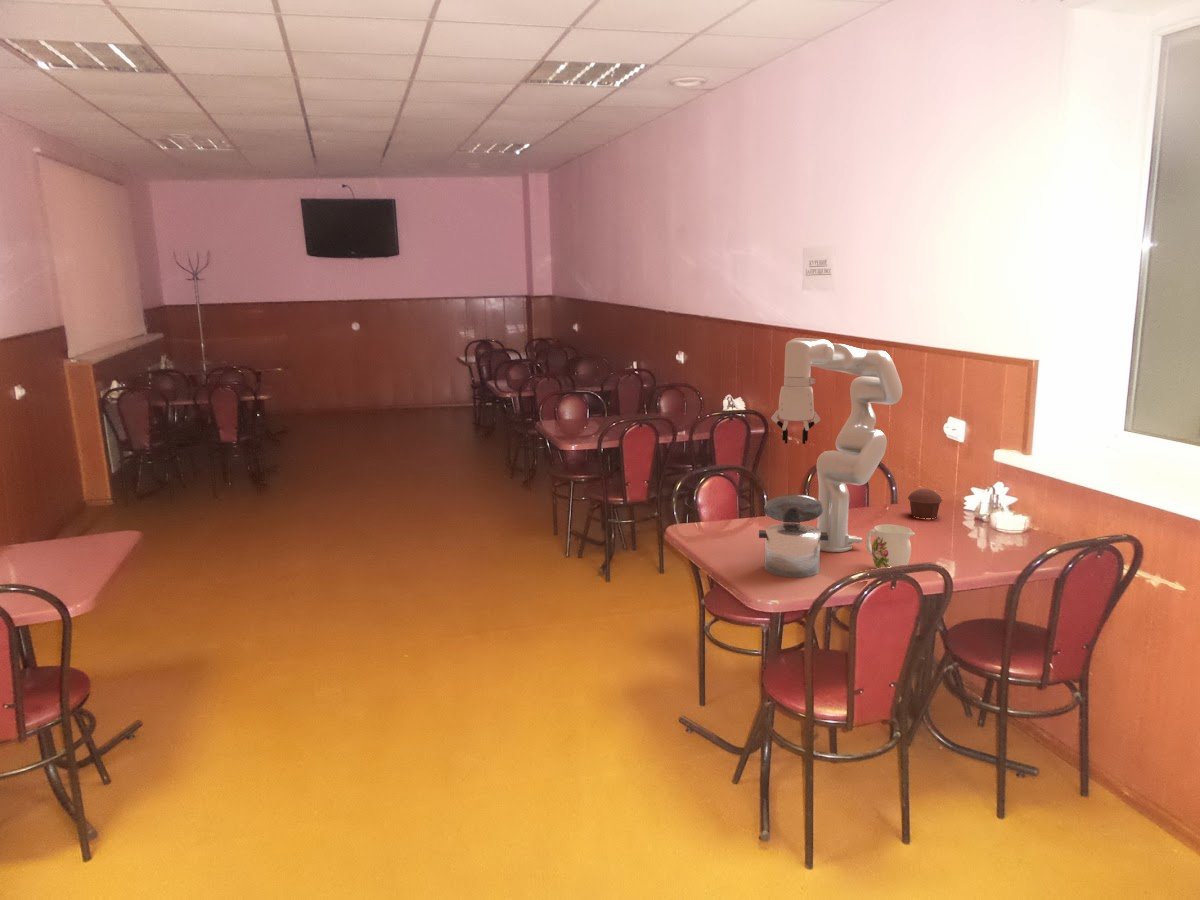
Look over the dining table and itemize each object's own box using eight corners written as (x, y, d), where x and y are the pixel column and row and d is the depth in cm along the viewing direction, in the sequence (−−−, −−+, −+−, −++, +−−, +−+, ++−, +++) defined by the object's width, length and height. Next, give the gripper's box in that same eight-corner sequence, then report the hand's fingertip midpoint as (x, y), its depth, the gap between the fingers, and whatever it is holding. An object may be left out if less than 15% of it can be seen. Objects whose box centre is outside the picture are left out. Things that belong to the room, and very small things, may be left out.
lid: (763, 522, 266) (763, 513, 267) (819, 524, 263) (819, 515, 265) (765, 497, 251) (765, 488, 252) (825, 499, 248) (825, 490, 250)
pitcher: (878, 559, 267) (881, 516, 264) (924, 577, 251) (927, 531, 248) (851, 565, 262) (854, 521, 259) (896, 583, 246) (899, 536, 243)
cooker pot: (823, 560, 266) (824, 523, 264) (828, 579, 250) (830, 539, 247) (757, 557, 269) (758, 520, 267) (758, 576, 253) (759, 536, 250)
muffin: (941, 514, 318) (942, 488, 316) (941, 522, 308) (943, 494, 306) (906, 511, 322) (908, 485, 320) (906, 519, 312) (907, 492, 310)
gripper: (825, 381, 257) (822, 441, 261) (767, 380, 260) (765, 440, 263) (827, 384, 250) (824, 446, 254) (768, 383, 253) (766, 444, 256)
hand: (794, 442), depth 258 cm, fingers open, 4 cm apart
